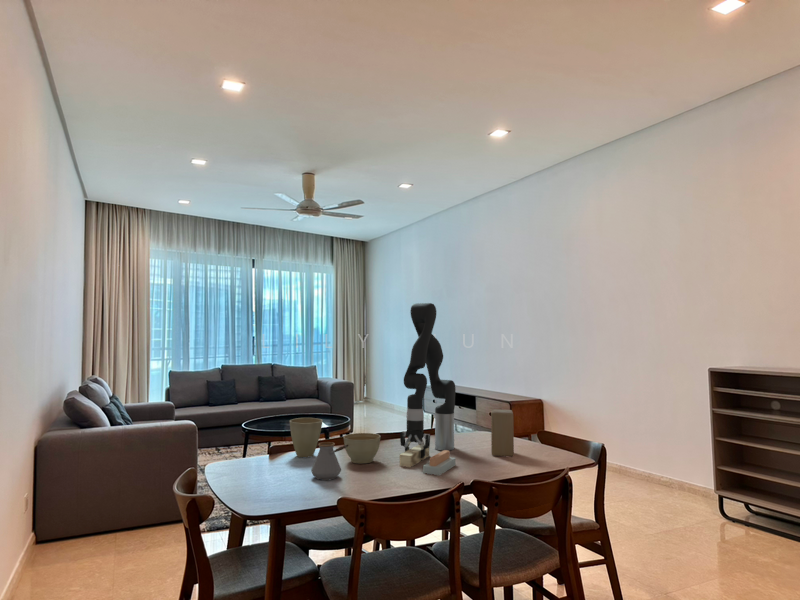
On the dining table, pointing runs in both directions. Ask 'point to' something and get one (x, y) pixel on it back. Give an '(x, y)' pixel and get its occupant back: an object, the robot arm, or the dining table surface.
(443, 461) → the fulcrum
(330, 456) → the coffee pot
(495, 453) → the wooden block
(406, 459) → the batten
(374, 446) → the planter bowl
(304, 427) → the plant pot
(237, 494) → the dining table surface
